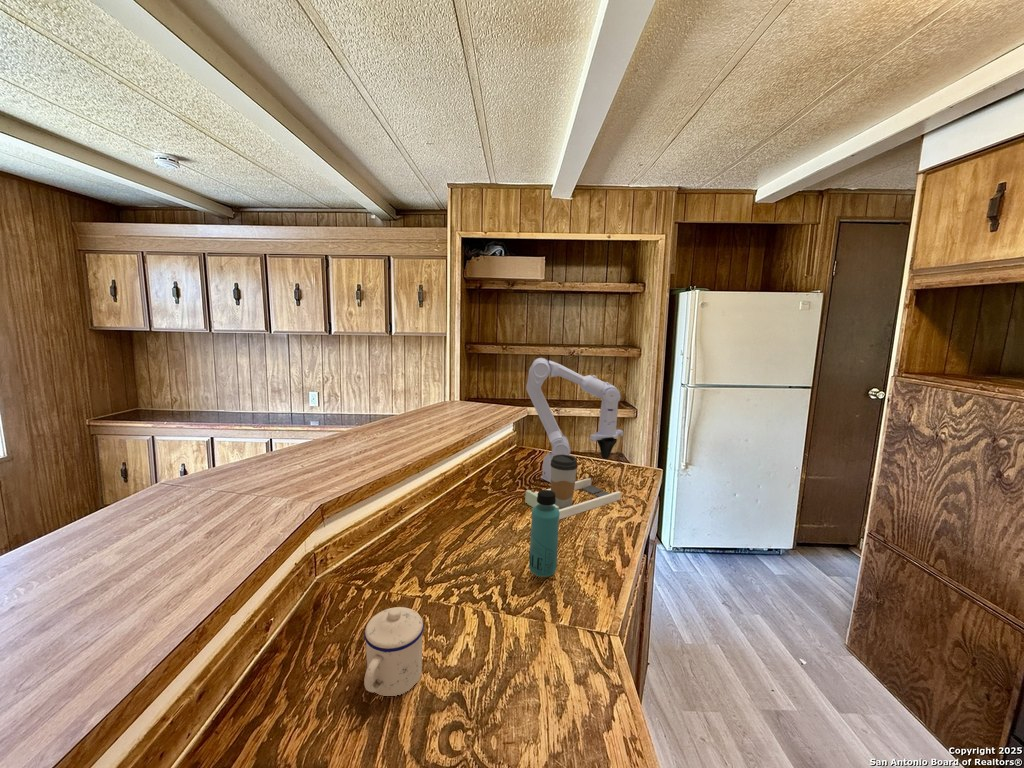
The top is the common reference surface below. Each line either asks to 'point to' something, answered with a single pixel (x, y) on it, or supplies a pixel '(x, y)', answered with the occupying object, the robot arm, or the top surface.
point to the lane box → (587, 504)
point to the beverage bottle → (544, 535)
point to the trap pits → (595, 491)
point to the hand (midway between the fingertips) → (605, 458)
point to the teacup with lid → (393, 651)
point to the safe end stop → (533, 499)
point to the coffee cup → (563, 479)
